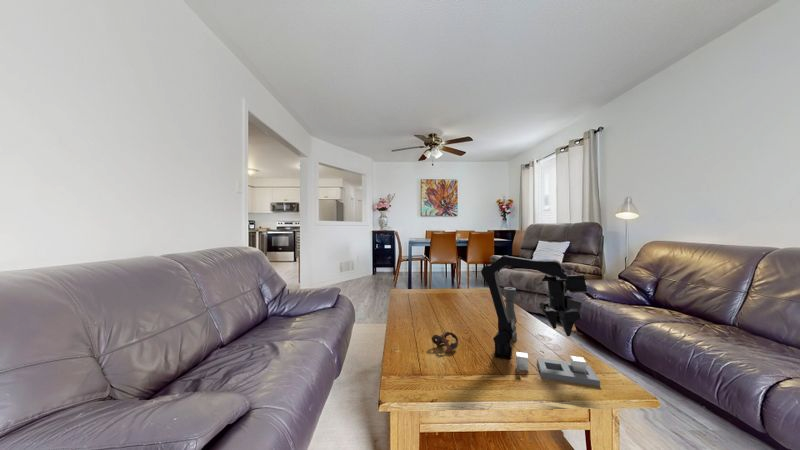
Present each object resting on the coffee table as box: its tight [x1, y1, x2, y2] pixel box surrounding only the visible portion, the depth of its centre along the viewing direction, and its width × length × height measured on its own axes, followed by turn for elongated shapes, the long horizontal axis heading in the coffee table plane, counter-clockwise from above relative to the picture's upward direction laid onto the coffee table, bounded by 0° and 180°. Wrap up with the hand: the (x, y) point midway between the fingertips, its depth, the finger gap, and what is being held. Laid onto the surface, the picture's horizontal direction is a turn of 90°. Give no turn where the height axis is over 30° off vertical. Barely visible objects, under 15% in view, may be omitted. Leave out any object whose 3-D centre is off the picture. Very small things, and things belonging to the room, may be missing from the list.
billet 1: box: [515, 351, 529, 373], centre depth 110 cm, size 4×4×6 cm
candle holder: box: [503, 286, 518, 342], centre depth 140 cm, size 6×6×25 cm
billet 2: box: [570, 355, 587, 374], centre depth 104 cm, size 4×4×6 cm
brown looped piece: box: [431, 331, 459, 353], centre depth 130 cm, size 12×10×8 cm
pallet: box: [536, 357, 601, 387], centre depth 105 cm, size 18×12×3 cm, turn 71°
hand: (561, 332), depth 111 cm, fingers open, 9 cm apart
